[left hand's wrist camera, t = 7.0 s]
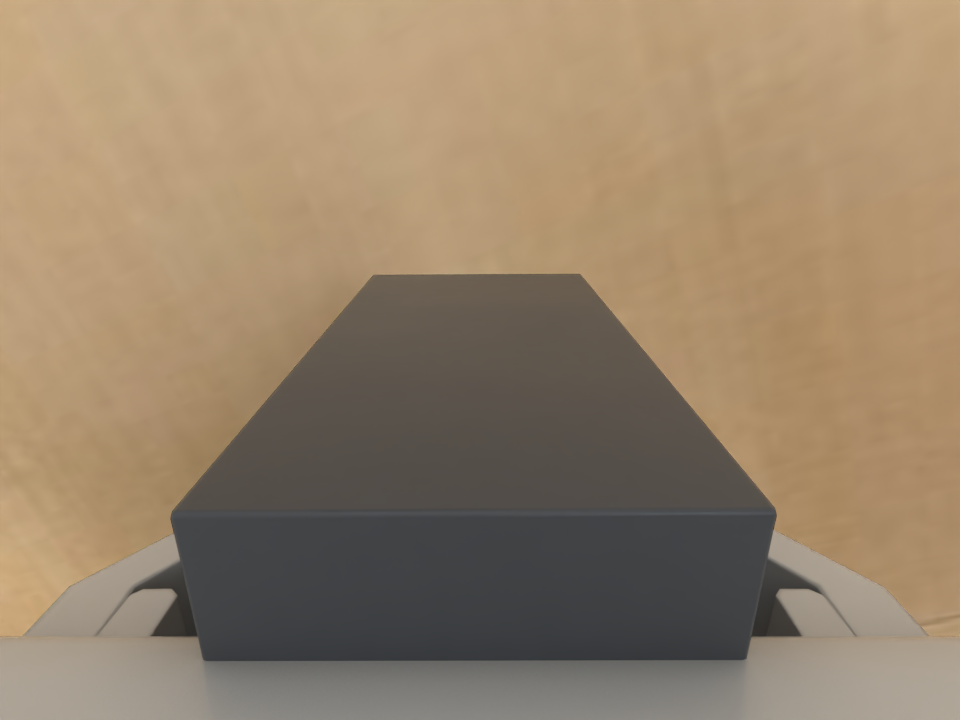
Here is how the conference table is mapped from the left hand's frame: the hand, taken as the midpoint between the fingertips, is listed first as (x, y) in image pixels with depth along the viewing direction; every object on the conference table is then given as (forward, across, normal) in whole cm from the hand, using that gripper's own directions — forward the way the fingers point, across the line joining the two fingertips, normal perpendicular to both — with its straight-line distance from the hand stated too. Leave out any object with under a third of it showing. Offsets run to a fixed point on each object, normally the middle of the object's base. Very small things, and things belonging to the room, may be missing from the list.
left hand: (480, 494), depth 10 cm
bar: (+4, 0, -10) cm, 11 cm away
